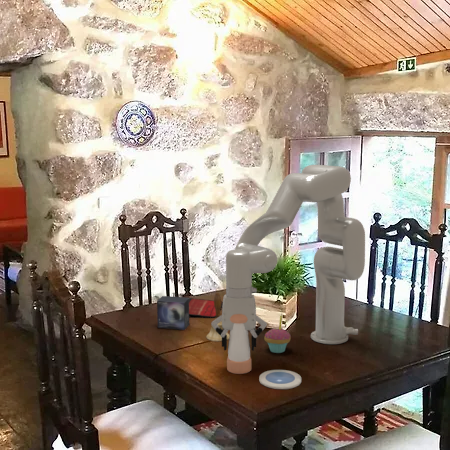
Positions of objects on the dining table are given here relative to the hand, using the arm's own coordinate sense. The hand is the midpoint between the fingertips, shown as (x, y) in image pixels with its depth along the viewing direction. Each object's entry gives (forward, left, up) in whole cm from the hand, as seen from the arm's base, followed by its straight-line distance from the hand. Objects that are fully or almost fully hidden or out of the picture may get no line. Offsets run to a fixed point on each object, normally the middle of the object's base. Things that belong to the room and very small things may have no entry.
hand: (239, 348), depth 189 cm
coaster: (-12, +8, -6) cm, 16 cm away
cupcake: (-12, -16, -7) cm, 21 cm away
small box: (+25, -39, -7) cm, 47 cm away
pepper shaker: (0, 0, -7) cm, 7 cm away
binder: (+17, -60, -7) cm, 63 cm away
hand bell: (+8, -28, -7) cm, 30 cm away
